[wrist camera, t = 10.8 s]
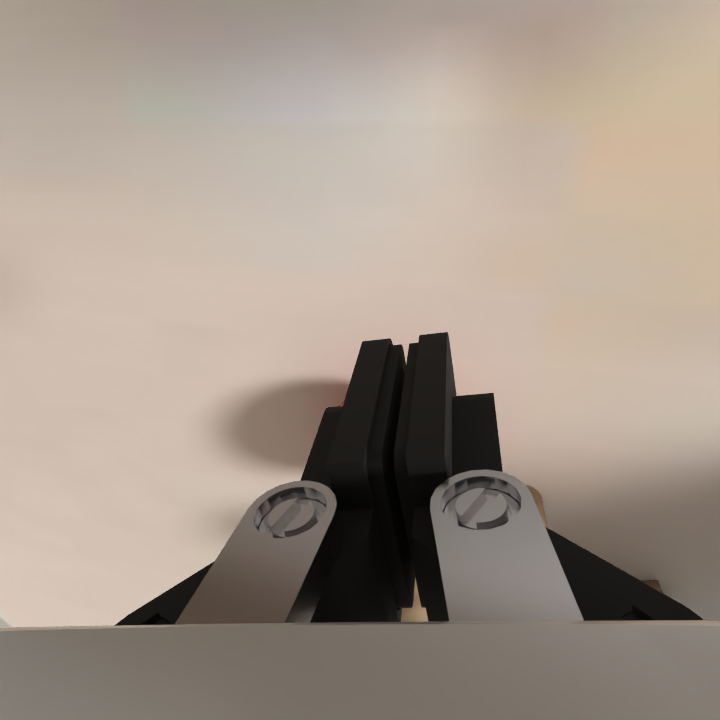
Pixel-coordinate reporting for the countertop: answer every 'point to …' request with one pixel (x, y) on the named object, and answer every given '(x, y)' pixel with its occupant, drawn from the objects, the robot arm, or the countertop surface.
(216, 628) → the robot arm
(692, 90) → the countertop surface
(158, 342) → the countertop surface
